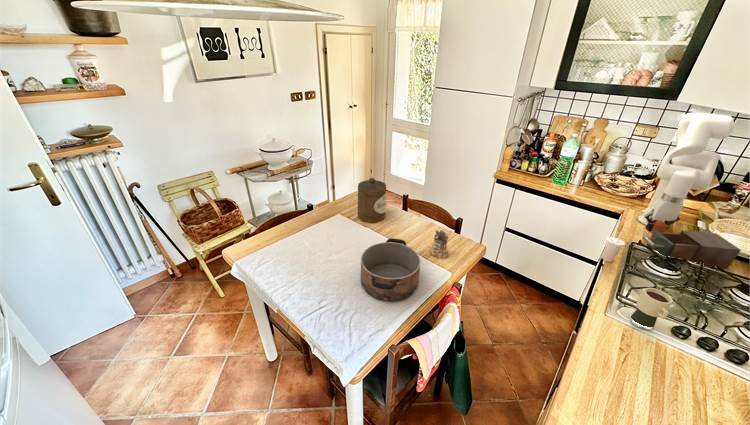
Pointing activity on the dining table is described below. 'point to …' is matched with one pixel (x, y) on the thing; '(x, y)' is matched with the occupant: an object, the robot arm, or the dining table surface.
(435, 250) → the figurine
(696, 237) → the cabinet
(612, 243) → the smoothie
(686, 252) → the drawer
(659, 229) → the block
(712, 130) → the robot arm
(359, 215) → the brown lidded canister
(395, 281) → the cooking pot
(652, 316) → the character mug
